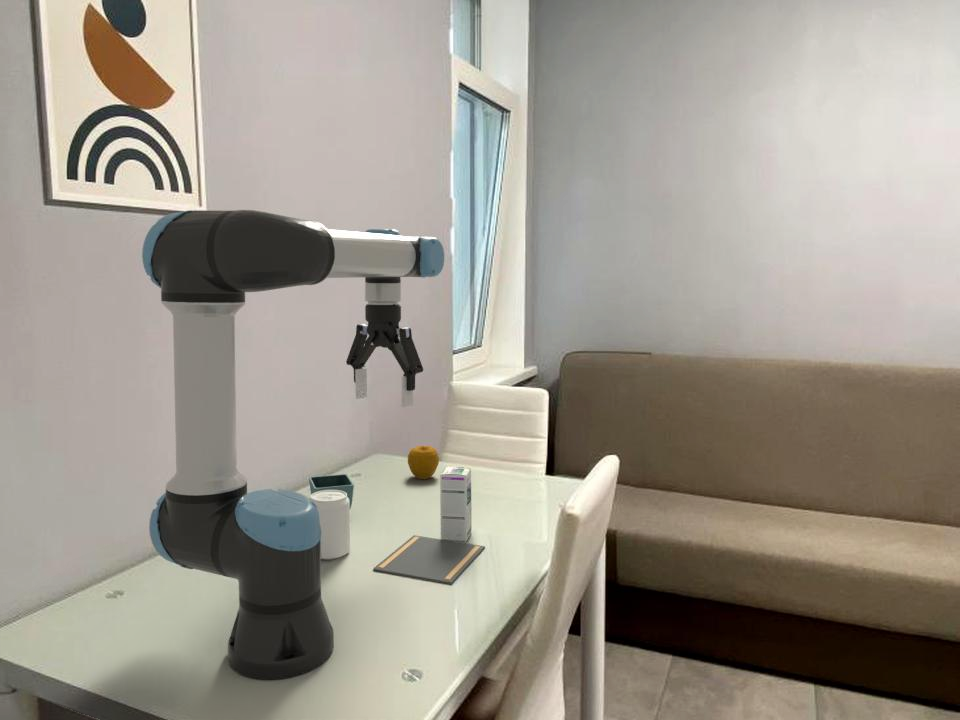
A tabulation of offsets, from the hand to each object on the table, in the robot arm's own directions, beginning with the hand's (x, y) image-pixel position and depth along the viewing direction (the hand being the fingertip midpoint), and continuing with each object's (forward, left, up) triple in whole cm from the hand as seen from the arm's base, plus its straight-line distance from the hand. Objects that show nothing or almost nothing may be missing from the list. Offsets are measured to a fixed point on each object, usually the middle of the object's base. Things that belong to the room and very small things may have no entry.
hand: (383, 401), depth 153 cm
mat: (-12, -17, -28) cm, 35 cm away
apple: (+37, +7, -28) cm, 47 cm away
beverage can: (-17, +3, -28) cm, 33 cm away
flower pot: (0, +13, -28) cm, 31 cm away
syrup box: (+1, -17, -28) cm, 33 cm away
